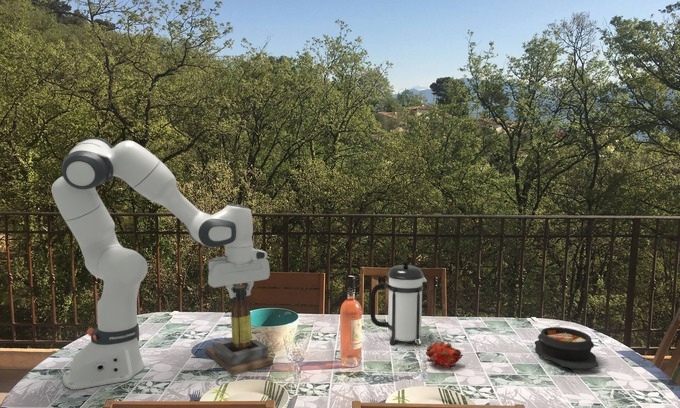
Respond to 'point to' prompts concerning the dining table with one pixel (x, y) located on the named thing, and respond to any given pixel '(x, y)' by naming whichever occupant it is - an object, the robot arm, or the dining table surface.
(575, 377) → the dining table surface
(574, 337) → the casserole
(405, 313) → the coffee press
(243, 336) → the sauce bottle
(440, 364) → the dragon fruit
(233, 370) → the board
